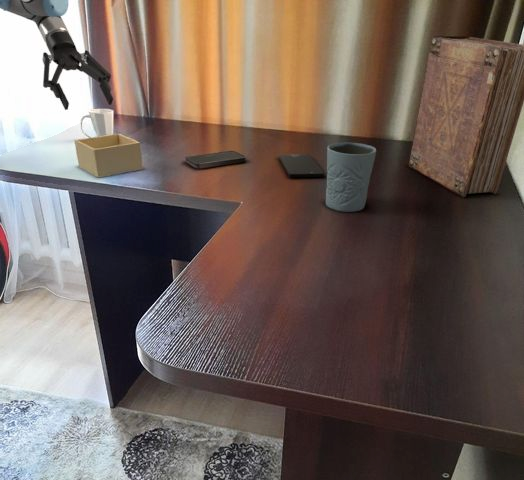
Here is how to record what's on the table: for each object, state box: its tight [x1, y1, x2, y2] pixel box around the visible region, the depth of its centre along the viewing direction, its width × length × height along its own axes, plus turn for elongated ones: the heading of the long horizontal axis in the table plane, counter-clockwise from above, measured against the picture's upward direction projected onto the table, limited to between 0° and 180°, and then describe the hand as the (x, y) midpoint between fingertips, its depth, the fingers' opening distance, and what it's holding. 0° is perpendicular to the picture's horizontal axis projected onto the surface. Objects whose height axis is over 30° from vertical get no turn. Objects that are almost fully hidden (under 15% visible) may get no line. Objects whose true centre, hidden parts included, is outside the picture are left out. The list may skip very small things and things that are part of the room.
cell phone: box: [278, 153, 325, 179], centre depth 133 cm, size 9×18×1 cm, turn 7°
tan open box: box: [73, 133, 144, 178], centre depth 127 cm, size 12×11×6 cm
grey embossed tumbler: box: [325, 142, 377, 213], centre depth 108 cm, size 10×10×12 cm
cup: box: [79, 108, 114, 138], centre depth 149 cm, size 7×10×8 cm
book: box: [408, 35, 524, 198], centre depth 119 cm, size 25×9×30 cm, turn 16°
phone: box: [185, 150, 247, 169], centre depth 135 cm, size 8×1×15 cm
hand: (89, 104), depth 148 cm, fingers open, 13 cm apart
